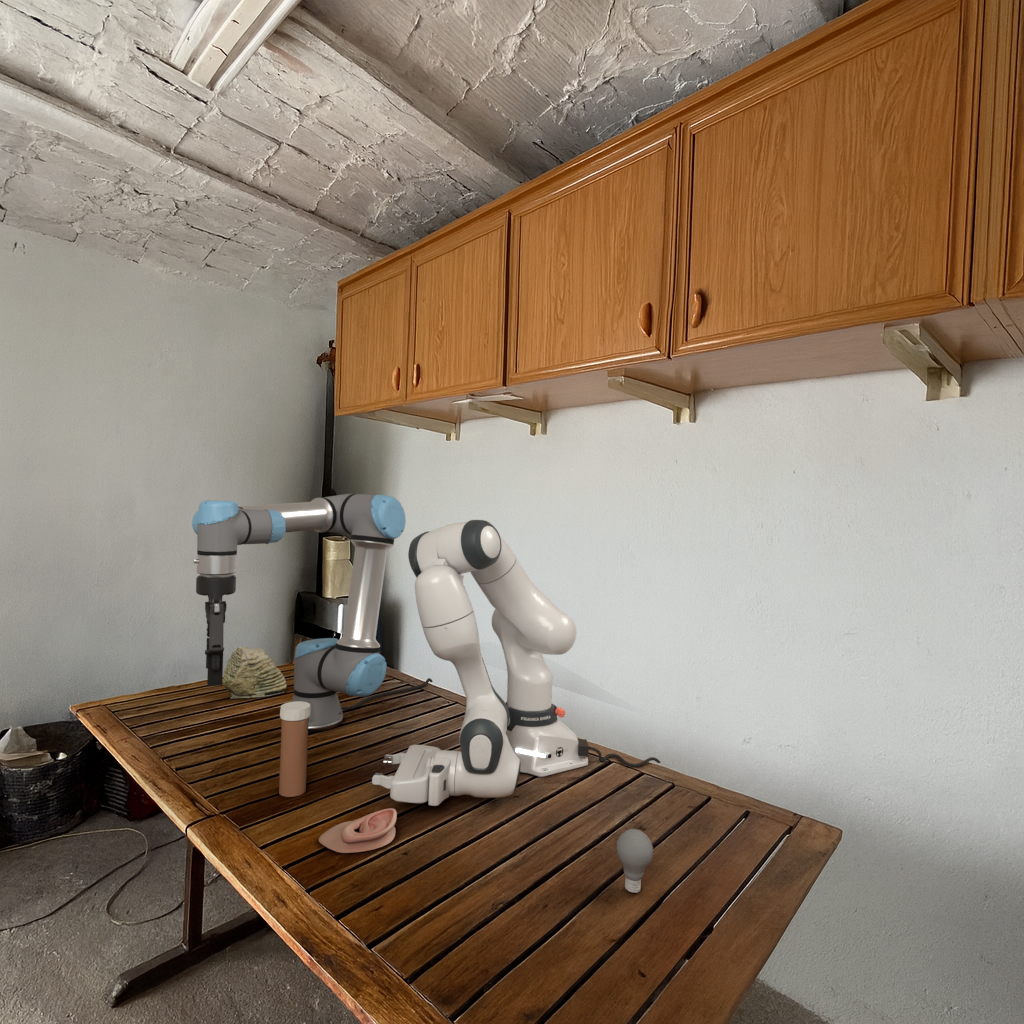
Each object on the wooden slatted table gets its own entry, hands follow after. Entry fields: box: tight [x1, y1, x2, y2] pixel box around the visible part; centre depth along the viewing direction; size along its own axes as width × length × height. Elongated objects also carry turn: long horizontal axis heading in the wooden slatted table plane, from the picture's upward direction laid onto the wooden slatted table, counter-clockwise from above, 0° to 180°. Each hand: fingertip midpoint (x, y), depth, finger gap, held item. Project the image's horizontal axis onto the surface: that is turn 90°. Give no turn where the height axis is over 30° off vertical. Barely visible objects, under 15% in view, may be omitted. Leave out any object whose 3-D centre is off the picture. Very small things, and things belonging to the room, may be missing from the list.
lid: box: [279, 701, 311, 721], centre depth 135 cm, size 6×6×2 cm
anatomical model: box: [318, 807, 398, 854], centre depth 118 cm, size 13×4×12 cm
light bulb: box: [615, 828, 654, 894], centre depth 106 cm, size 6×6×10 cm
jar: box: [278, 717, 309, 798], centre depth 136 cm, size 6×6×18 cm
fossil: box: [222, 646, 288, 699], centre depth 198 cm, size 9×18×15 cm, turn 132°
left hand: (213, 676), depth 132 cm, fingers open, 13 cm apart
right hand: (378, 768), depth 135 cm, fingers open, 8 cm apart
